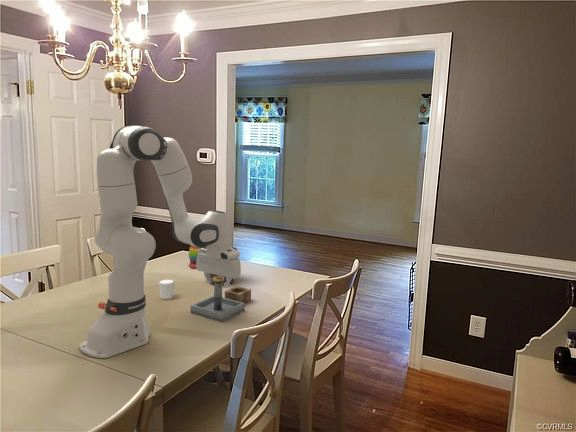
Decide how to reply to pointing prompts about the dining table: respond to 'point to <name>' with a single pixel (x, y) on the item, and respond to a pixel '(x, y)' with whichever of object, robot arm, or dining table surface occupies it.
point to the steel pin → (218, 292)
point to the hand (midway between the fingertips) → (217, 284)
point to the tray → (228, 310)
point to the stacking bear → (193, 256)
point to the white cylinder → (166, 288)
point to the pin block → (238, 294)
